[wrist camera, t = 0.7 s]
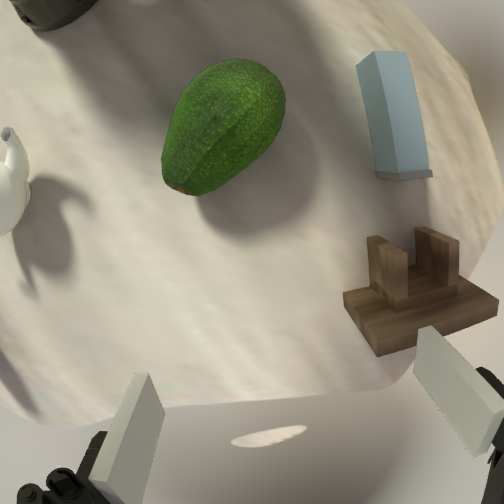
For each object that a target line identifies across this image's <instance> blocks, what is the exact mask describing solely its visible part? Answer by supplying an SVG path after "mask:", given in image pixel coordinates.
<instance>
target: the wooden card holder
mask: <svg viewBox="0 0 504 504" xmlns="http://www.w3.org/2000/svg"><path fill="white" fill-rule="evenodd" d="M415 240H416V265H413V266H409V267H408V258H407V252H405V251H404V250H402V249H400V248H399V247H397V246H395V245H393V244H392V243H390V242H388V241H387V240H385V239H383V238H381V237H380V236H378V235H377V236H372V237H367V247H368V259H369V274H370V287H365V288H361V289H356V290H352V291H347V292H343V299H344V307H345V309H346V310H347V312H348V313H349V315H350V316H351V318H352V319H353V321H354V322H355V324H356V325H357V327H358V328H359V330H360V331H361V333H362V334H363V336H364V337H365V339H366V341H367V342H368V344H369V345H370V347H371V348H372V350H373V351H374V353H375V355H376V356H377V357H380V356H384V355H387V354H390V353H394V352H397V351H401V350H404V349H407V348H410V347H413V346H417V339H418V329H420V328H423V327H427V326H430V325H431V326H432V327H433V328H435V329H436V330H437V331H438V332H439V333H440V334H441V335H442V336H446V335H449V334H451V333H454V332H457V331H459V330H462V329H465V328H468V327H470V326H472V325H475V324H478V323H480V322H482V321H485V320H488V319H490V318H492V317H494V316H497V311H498V304H499V300H498V299H497V298H495V297H494V296H492V295H491V294H489V293H487V292H486V291H484V290H483V289H481V288H479V287H478V286H476V285H474V284H473V283H471V282H470V281H468V280H466V279H465V278H463V277H462V276H460V275H458V273H459V241H458V240H456V239H454V238H451V237H449V236H446V235H444V234H442V233H439V232H437V231H434V230H432V229H429V228H427V227H425V226H424V227H419V228H415Z"/></svg>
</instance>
